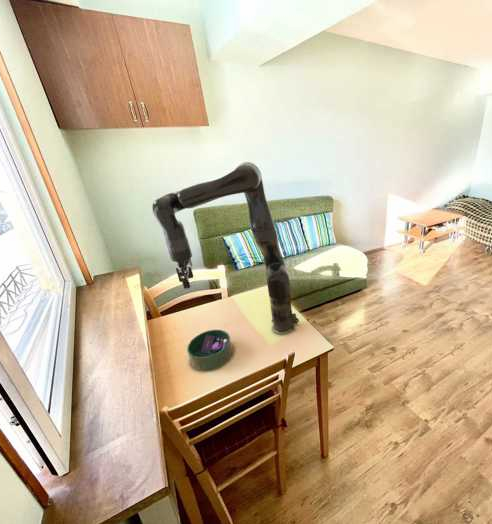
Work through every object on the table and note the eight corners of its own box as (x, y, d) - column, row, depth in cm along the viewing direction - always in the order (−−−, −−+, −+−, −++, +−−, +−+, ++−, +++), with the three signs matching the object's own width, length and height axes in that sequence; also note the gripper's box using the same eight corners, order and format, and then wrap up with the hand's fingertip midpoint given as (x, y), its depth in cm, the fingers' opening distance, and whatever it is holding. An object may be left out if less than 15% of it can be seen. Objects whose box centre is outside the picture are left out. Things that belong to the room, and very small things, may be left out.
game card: (206, 334, 115) (228, 339, 118) (206, 335, 119) (227, 339, 122) (200, 351, 112) (223, 355, 115) (201, 351, 117) (223, 355, 120)
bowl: (233, 338, 126) (230, 326, 123) (232, 365, 112) (228, 352, 109) (194, 346, 122) (190, 333, 119) (188, 374, 108) (183, 362, 105)
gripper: (186, 253, 103) (196, 290, 111) (192, 239, 115) (201, 273, 123) (163, 256, 101) (175, 293, 109) (172, 241, 113) (182, 275, 121)
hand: (189, 282), depth 116 cm, fingers open, 8 cm apart
